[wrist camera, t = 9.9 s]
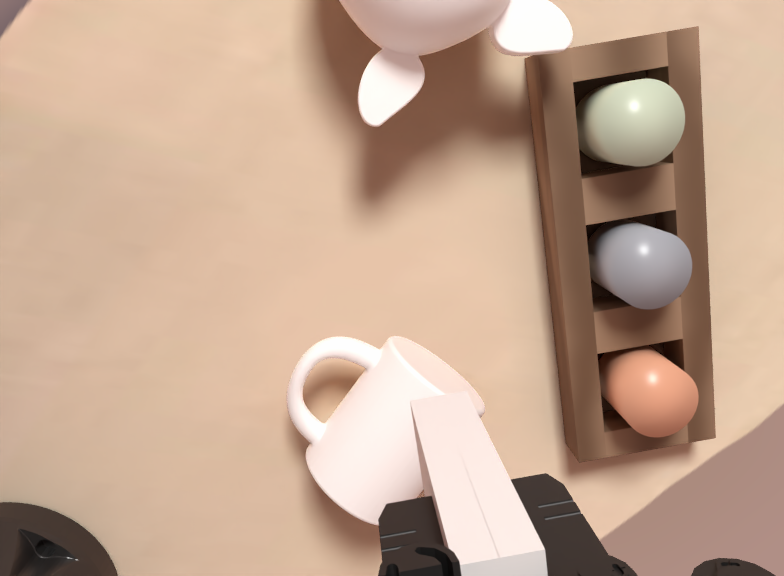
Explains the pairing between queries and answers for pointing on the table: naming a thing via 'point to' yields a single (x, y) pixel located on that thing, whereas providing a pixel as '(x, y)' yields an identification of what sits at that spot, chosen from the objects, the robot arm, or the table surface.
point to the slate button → (639, 263)
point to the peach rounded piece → (648, 390)
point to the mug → (371, 422)
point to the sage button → (630, 122)
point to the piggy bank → (443, 40)
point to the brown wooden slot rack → (613, 202)
